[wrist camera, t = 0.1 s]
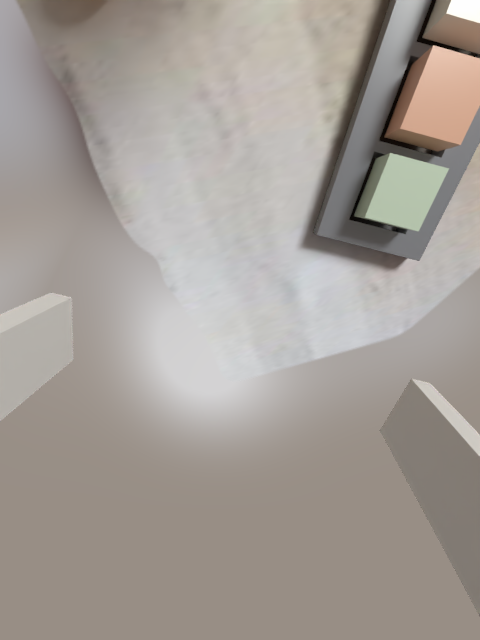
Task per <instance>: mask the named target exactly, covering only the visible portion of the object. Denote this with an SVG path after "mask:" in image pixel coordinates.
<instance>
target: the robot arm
mask: <svg viewBox="0 0 480 640" xmlns="http://www.w3.org/2000/svg"><path fill="white" fill-rule="evenodd" d="M72 360H73V325H72V298H71V297H68V296H64V295H59V294H55V293H49V294H46V295H44V296H42V297H39V298H37V299H35V300H32V301H30V302H28V303H25V304H23V305H21V306H18V307H16V308H13V309H11V310H9V311H6V312H4V313H2V314H0V421H1V420H2V419H4V418H5V417H6V416H7V415H8V414H10V413H11V412H12V411H13V410H14V409H15V408H17V407H18V406H19V405H20V404H21V403H23V402H24V401H25V400H26V399H27V398H28V397H30V396H31V395H32V394H33V393H34V392H36V391H37V390H38V389H39V388H40V387H41V386H43V385H44V384H45V383H46V382H47V381H49V380H50V379H51V378H52V377H53V376H55V375H56V374H57V373H58V372H59V371H61V370H62V369H63V368H64V367H65V366H66V365H68V363H70V362H71V361H72ZM380 432H381V434H382V435H383V437H384V439H385V441H386V443H387V445H388V447H389V448H390V450H391V452H392V454H393V456H394V458H395V460H396V461H397V463H398V465H399V467H400V469H401V471H402V473H403V474H404V476H405V478H406V480H407V482H408V484H409V486H410V487H411V489H412V491H413V493H414V495H415V497H416V499H417V501H418V502H419V504H420V506H421V508H422V510H423V512H424V513H425V515H426V517H427V519H428V521H429V523H430V525H431V527H432V528H433V530H434V532H435V534H436V536H437V538H438V540H439V541H440V543H441V545H442V547H443V549H444V551H445V552H446V554H447V556H448V558H449V560H450V562H451V563H452V565H453V567H454V569H455V571H456V573H457V575H458V577H459V579H460V580H461V582H462V584H463V586H464V588H465V590H466V591H467V593H468V595H469V597H470V599H471V601H472V603H473V604H474V606H475V608H476V610H477V612H478V614H479V616H480V435H479V434H478V433H477V432H476V431H475V429H474V428H473V427H472V426H471V425H470V424H469V423H468V422H467V421H466V420H465V419H464V418H463V417H462V416H461V415H460V414H459V413H458V412H457V411H456V410H455V409H454V408H453V407H452V406H451V404H450V403H449V402H448V401H447V400H446V399H445V398H444V397H443V396H442V395H441V394H440V393H439V392H438V391H437V390H436V389H435V388H434V387H433V386H432V385H431V384H430V383H427V382H423V381H419V380H414V379H411V380H410V382H409V383H408V385H407V387H406V388H405V390H404V392H403V393H402V395H401V397H400V398H399V400H398V401H397V403H396V405H395V406H394V408H393V410H392V411H391V413H390V415H389V416H388V418H387V420H386V421H385V423H384V425H383V426H382V428H381V429H380Z"/></svg>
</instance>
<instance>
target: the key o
mask: <svg viewBox="0 0 480 640" xmlns="http://www.w3.org/2000/svg"><path fill="white" fill-rule="evenodd" d="M448 170H449V168H445V167H441V166H438V165H434V164H430V163H426V162H423V161H419V160H415V159H412V158H408V157H404V156H400V155H397V154H393V153H389V154H386V155H384V156H381V157H378V158H376V160H375V162H374V165H373V167H372V170H371V173H370V175H369V178H368V181H367V183H366V186H365V188H364V191H363V194H362V196H361V199H360V201H359V204H358V207H357V209H356V212H355V215H354V216H355V217H359V218H363V219H367V220H371V221H375V222H379V223H382V224H386V225H390V226H394V227H398V228H402V229H407V230H413V231H419V230H420V228H421V226H422V223H423V221H424V219H425V217H426V215H427V213H428V211H429V209H430V207H431V205H432V203H433V201H434V199H435V197H436V195H437V193H438V191H439V189H440V186H441V184H442V182H443V180H444V178H445V176H446V174H447V172H448Z"/></svg>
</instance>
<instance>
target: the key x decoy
mask: <svg viewBox="0 0 480 640" xmlns="http://www.w3.org/2000/svg"><path fill="white" fill-rule="evenodd" d="M479 106H480V58H476V57H473V56H469V55H466V54H462V53H459V52H455V51H452V50H448V49H445V48H441V47H438V46H434V45H433V46H432V47H431V48H430V49H429V50H428V51H427V52H425V53H424V54H423V55H422V56H421V57H420V58H419V59H418V60H417V61H415V62H414V63H413V64H412V65H411V68H410V71H409V73H408V76H407V78H406V81H405V84H404V86H403V89H402V92H401V94H400V97H399V99H398V102H397V105H396V107H395V110H394V113H393V115H392V118H391V120H390V123H389V126H388V128H387V131H386V133H385V136H384V137H386V138H389V139H393V140H397V141H401V142H404V143H408V144H412V145H415V146H419V147H423V148H426V149H430V150H434V151H437V152H438V151H442V150H445V149H449V148H452V147H456V146H459V145H461V143H462V141H463V139H464V137H465V135H466V133H467V131H468V129H469V127H470V125H471V123H472V121H473V119H474V116H475V114H476V112H477V110H478V108H479Z"/></svg>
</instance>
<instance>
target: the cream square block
mask: <svg viewBox="0 0 480 640" xmlns="http://www.w3.org/2000/svg"><path fill="white" fill-rule="evenodd" d="M422 38H425V39H428V40H432V41H435V42H439V43H442V44H446V45H449V46H453V47H456V48H460V49H463V50H467V51H470V52H474V53H477V54H480V0H436V3H435V5H434V8H433V10H432V13H431V16H430V18H429V21H428V24H427V26H426V29H425V31H424V34H423V37H422Z"/></svg>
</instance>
